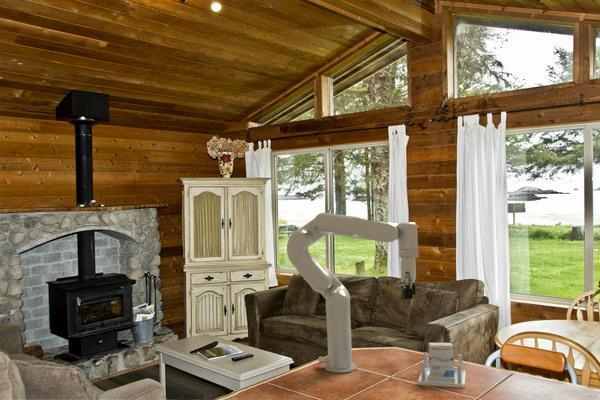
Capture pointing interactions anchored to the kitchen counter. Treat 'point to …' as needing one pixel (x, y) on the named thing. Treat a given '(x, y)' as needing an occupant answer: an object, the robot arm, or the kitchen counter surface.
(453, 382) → the tray
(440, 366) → the ink box
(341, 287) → the robot arm
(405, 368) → the kitchen counter surface
